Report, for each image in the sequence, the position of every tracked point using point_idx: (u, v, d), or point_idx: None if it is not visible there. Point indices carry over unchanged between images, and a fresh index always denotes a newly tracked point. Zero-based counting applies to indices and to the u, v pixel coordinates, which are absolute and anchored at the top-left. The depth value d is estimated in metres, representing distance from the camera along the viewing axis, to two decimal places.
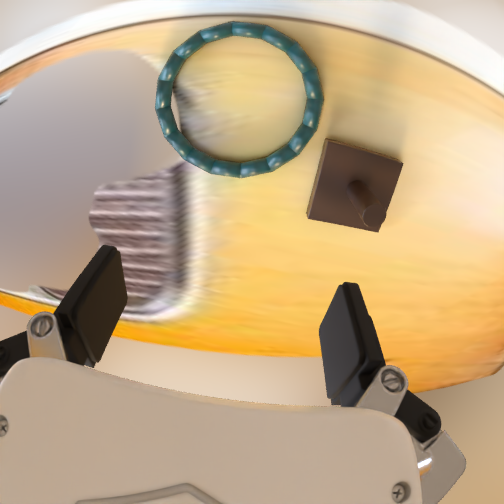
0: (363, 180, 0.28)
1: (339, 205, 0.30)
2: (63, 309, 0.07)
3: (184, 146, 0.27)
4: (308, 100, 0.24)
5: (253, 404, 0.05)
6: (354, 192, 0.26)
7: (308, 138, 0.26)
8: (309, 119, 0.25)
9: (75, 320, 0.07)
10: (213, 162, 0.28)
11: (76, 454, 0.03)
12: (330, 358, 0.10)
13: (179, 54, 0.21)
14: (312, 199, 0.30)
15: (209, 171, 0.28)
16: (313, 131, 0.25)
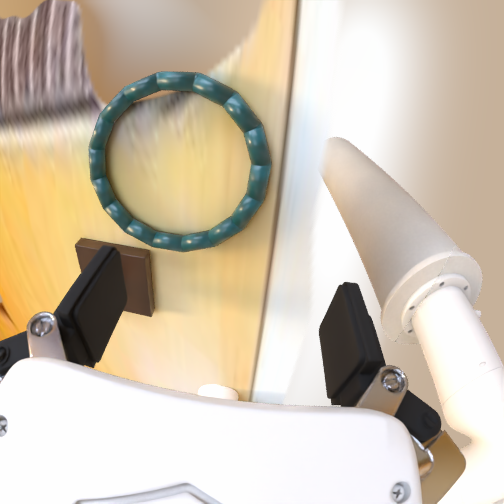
0: None
1: None
2: (63, 309, 0.07)
3: (112, 115, 0.19)
4: (179, 239, 0.26)
5: (253, 404, 0.05)
6: None
7: (142, 241, 0.26)
8: (160, 241, 0.26)
9: (75, 320, 0.07)
10: (99, 149, 0.21)
11: (76, 454, 0.03)
12: (330, 358, 0.10)
13: (228, 102, 0.19)
14: (91, 246, 0.27)
15: (89, 146, 0.21)
16: None
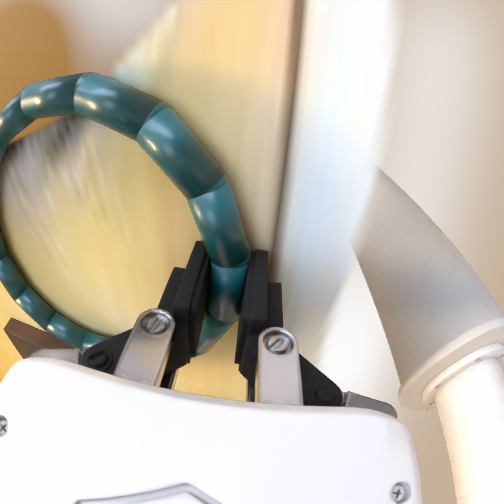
0: None
1: None
2: (181, 304, 0.08)
3: None
4: None
5: (253, 404, 0.05)
6: None
7: None
8: None
9: (191, 315, 0.09)
10: None
11: (76, 454, 0.03)
12: (239, 324, 0.11)
13: (143, 132, 0.08)
14: (20, 334, 0.16)
15: None
16: None
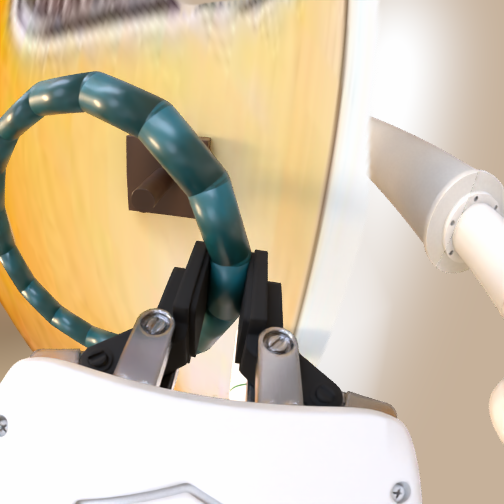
0: (175, 182, 0.28)
1: (145, 164, 0.27)
2: (181, 304, 0.08)
3: None
4: None
5: (253, 404, 0.05)
6: (161, 175, 0.26)
7: (73, 338, 0.16)
8: None
9: (191, 315, 0.09)
10: None
11: (76, 454, 0.03)
12: (239, 324, 0.11)
13: (145, 130, 0.08)
14: None
15: None
16: None
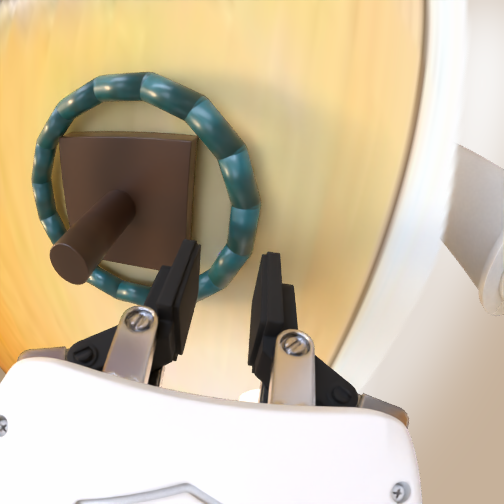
0: (137, 215, 0.16)
1: (89, 184, 0.15)
2: (164, 301, 0.08)
3: (48, 139, 0.13)
4: (147, 293, 0.20)
5: (253, 404, 0.05)
6: (107, 208, 0.13)
7: None
8: (124, 295, 0.20)
9: (175, 312, 0.09)
10: (42, 182, 0.15)
11: (76, 454, 0.03)
12: (252, 326, 0.11)
13: (191, 114, 0.12)
14: (88, 135, 0.14)
15: None
16: (114, 297, 0.20)
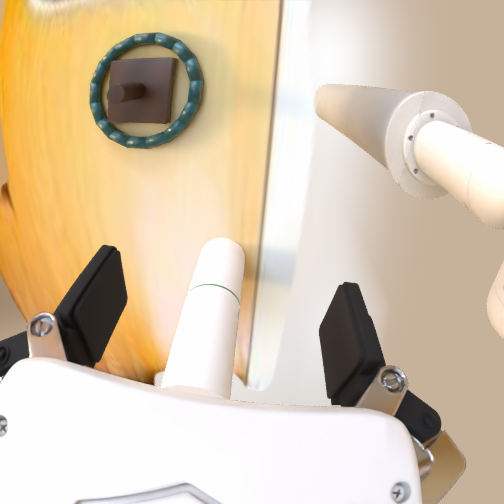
0: (145, 93, 0.30)
1: (124, 81, 0.29)
2: (63, 309, 0.07)
3: (107, 61, 0.27)
4: (145, 138, 0.34)
5: (253, 404, 0.05)
6: (134, 83, 0.27)
7: (119, 143, 0.34)
8: (131, 141, 0.34)
9: (75, 320, 0.07)
10: (97, 83, 0.28)
11: (76, 454, 0.03)
12: (330, 358, 0.10)
13: (174, 46, 0.26)
14: None
15: (91, 81, 0.28)
16: (124, 145, 0.34)
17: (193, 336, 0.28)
